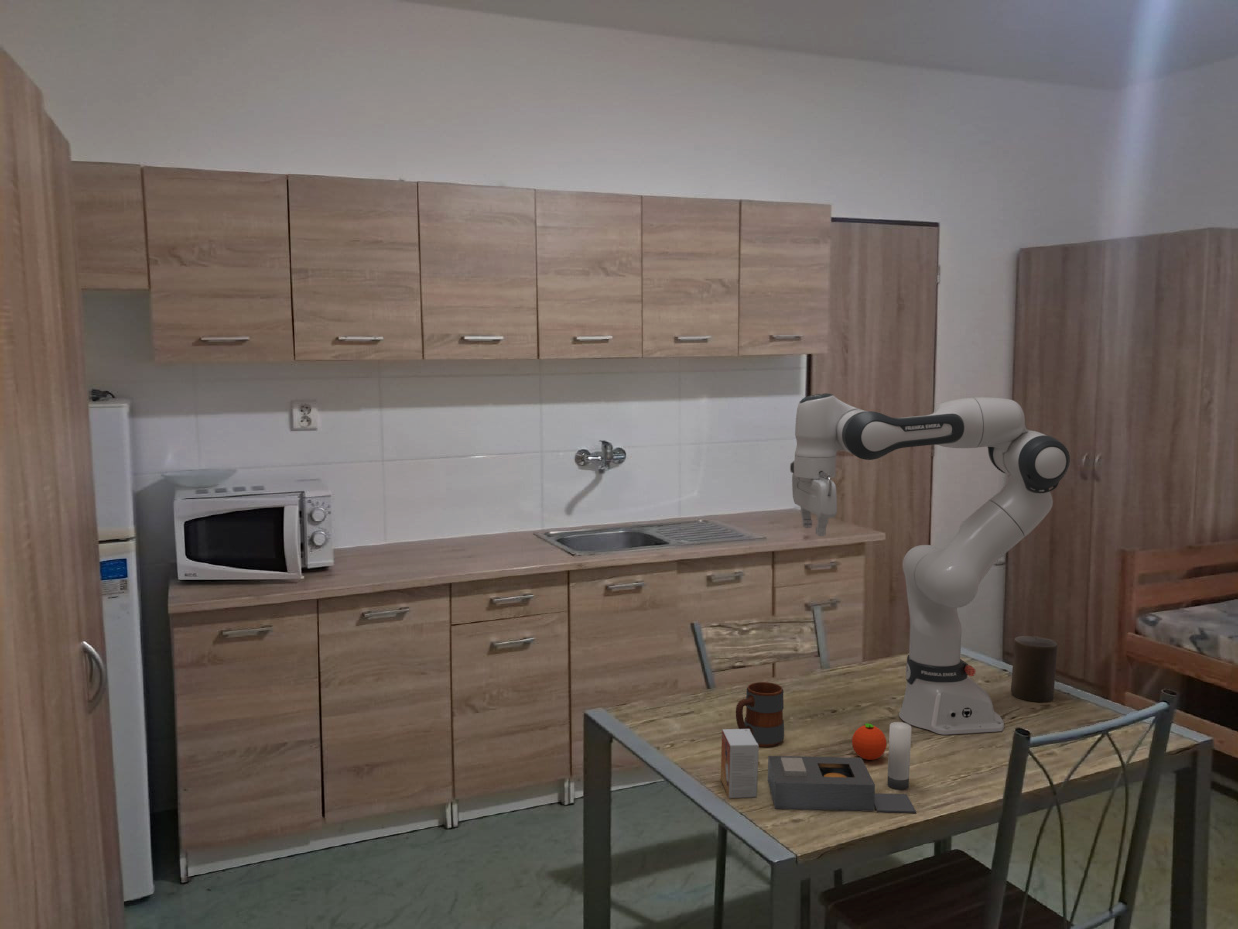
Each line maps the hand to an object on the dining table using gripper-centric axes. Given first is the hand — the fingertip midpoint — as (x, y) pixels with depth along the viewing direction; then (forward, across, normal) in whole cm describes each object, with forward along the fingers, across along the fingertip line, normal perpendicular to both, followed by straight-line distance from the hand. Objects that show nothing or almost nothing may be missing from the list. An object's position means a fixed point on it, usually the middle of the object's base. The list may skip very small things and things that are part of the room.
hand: (813, 531), depth 218 cm
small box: (+44, -30, +24) cm, 58 cm away
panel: (+44, -34, +9) cm, 56 cm away
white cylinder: (+44, -32, -8) cm, 55 cm away
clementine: (+44, -19, -7) cm, 48 cm away
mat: (+44, -39, -3) cm, 59 cm away
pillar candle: (+45, +13, -60) cm, 76 cm away
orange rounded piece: (+42, -35, +6) cm, 55 cm away
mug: (+44, -8, +14) cm, 47 cm away
